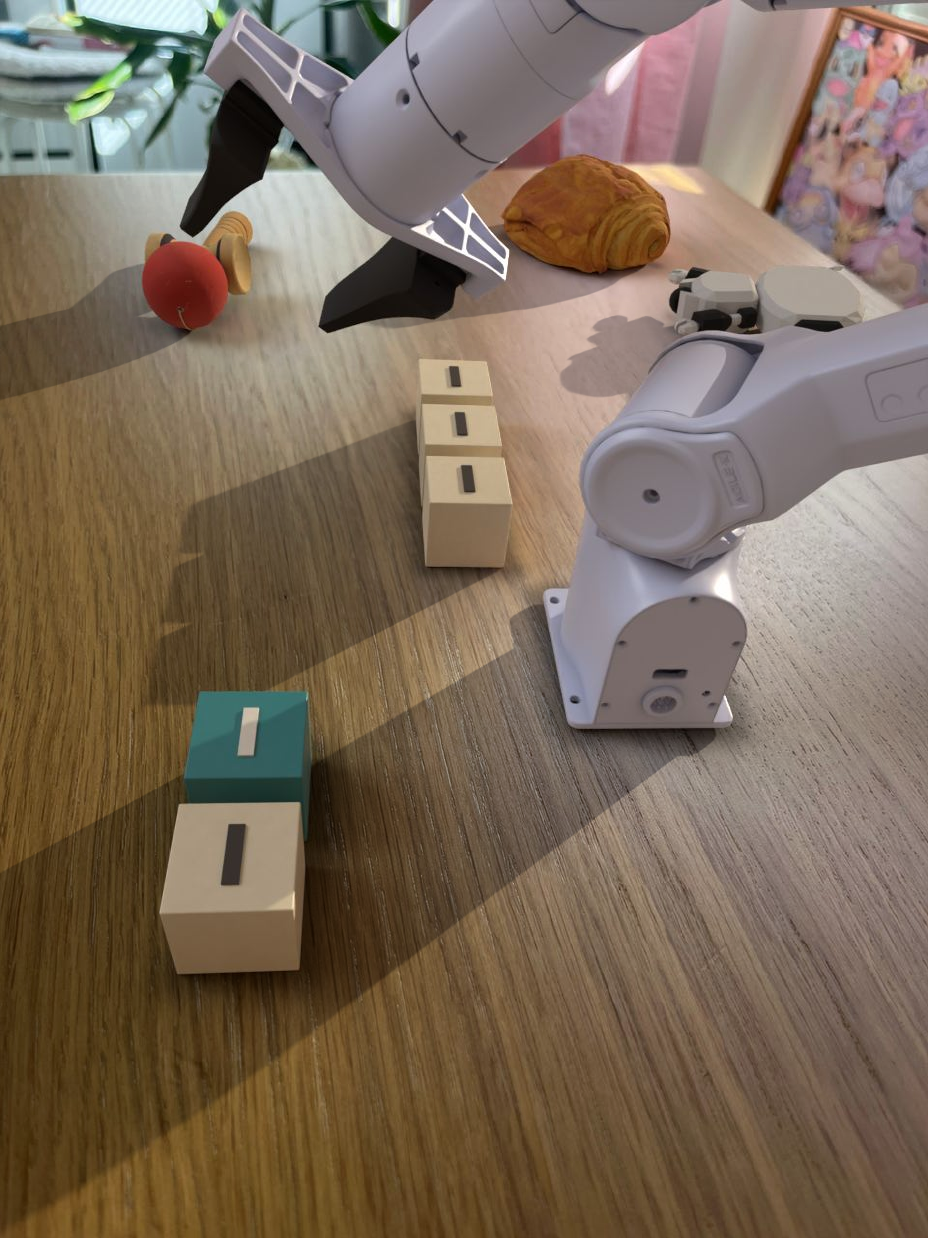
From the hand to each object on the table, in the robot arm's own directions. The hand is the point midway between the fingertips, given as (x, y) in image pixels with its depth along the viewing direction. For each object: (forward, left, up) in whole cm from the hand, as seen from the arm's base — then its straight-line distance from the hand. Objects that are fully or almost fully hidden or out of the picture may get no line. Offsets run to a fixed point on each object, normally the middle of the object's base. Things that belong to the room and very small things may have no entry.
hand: (262, 268), depth 44 cm
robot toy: (+25, -36, -15) cm, 46 cm away
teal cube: (-20, 0, -14) cm, 25 cm away
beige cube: (-2, -10, -14) cm, 18 cm away
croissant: (+42, -24, -15) cm, 51 cm away
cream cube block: (+9, -10, -14) cm, 20 cm away
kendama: (+29, +8, -15) cm, 33 cm away
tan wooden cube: (+3, -10, -14) cm, 18 cm away
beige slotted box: (-25, 0, -14) cm, 29 cm away
